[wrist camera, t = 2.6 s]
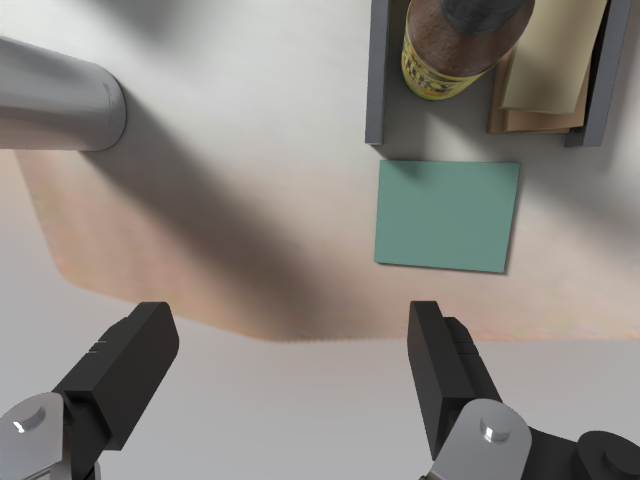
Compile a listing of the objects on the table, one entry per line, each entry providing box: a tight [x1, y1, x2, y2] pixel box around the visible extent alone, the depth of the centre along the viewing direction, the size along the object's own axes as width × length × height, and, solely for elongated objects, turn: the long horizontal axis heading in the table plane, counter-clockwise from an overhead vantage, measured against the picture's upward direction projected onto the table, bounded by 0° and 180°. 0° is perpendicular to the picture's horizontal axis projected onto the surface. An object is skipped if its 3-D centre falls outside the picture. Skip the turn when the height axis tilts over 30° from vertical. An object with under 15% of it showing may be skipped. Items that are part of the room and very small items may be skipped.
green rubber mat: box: [374, 160, 520, 272], centre depth 32 cm, size 12×10×1 cm
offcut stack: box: [487, 0, 607, 134], centre depth 26 cm, size 6×11×4 cm, turn 179°
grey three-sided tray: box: [365, 0, 631, 147], centre depth 26 cm, size 18×14×5 cm
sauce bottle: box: [401, 0, 535, 101], centre depth 20 cm, size 6×6×20 cm
